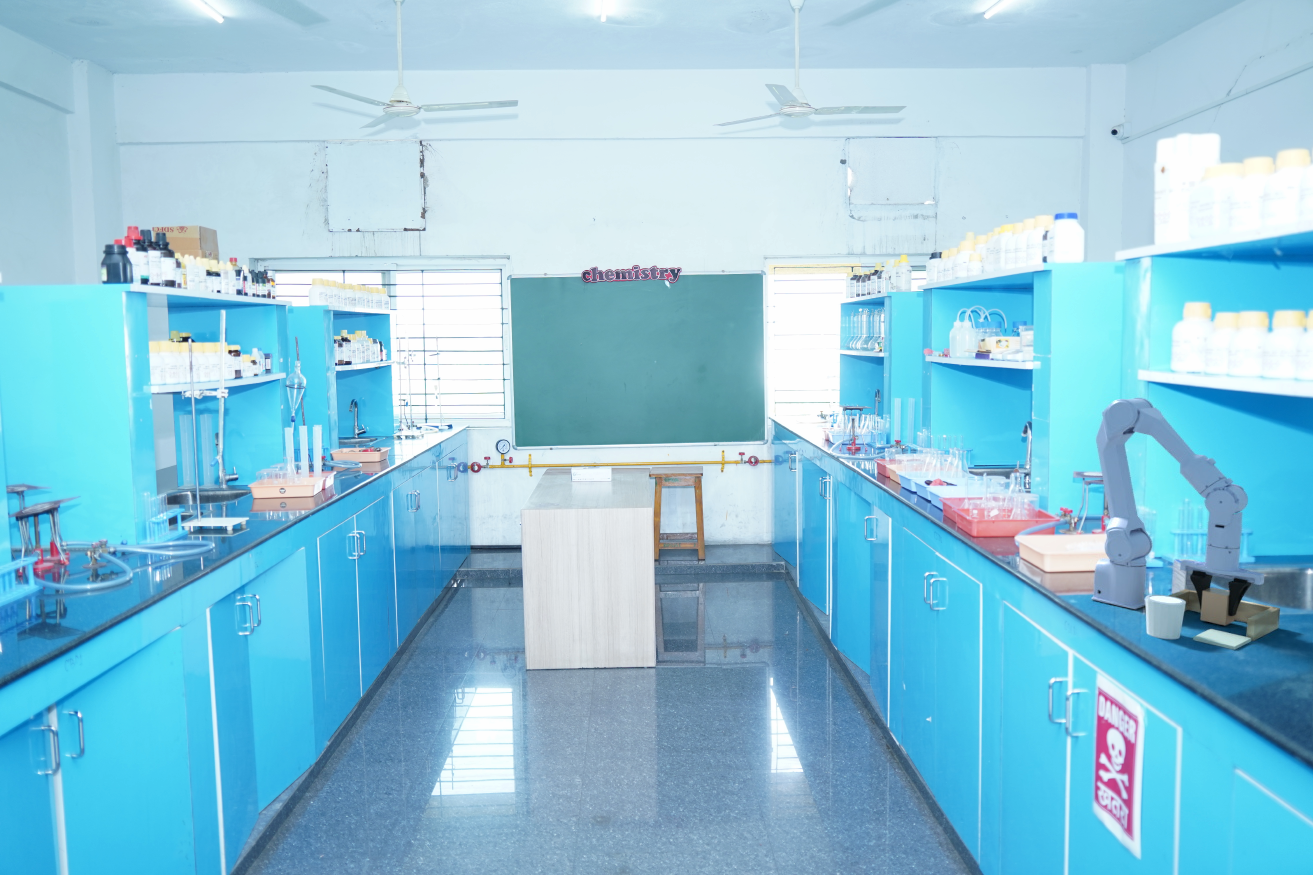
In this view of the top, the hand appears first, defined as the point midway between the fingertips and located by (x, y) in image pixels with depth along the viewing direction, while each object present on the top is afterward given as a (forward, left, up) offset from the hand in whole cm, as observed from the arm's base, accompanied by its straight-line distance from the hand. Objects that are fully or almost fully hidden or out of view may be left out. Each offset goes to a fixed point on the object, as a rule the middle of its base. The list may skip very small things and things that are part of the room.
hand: (1217, 612), depth 183 cm
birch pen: (0, 0, -2) cm, 2 cm away
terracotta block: (0, 0, -2) cm, 2 cm away
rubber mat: (+5, -11, -2) cm, 13 cm away
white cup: (-3, -17, -2) cm, 17 cm away
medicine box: (-10, +12, -3) cm, 15 cm away
